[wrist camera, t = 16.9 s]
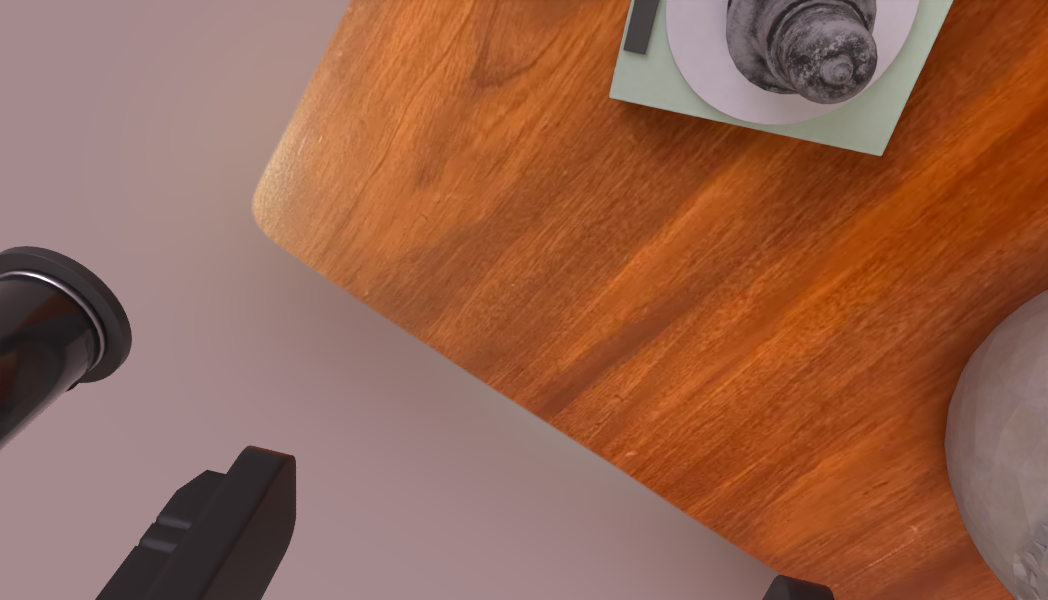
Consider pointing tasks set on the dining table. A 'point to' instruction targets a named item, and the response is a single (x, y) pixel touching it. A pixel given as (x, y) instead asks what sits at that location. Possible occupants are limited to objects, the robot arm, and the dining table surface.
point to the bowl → (1005, 449)
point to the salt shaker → (804, 46)
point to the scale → (727, 96)
